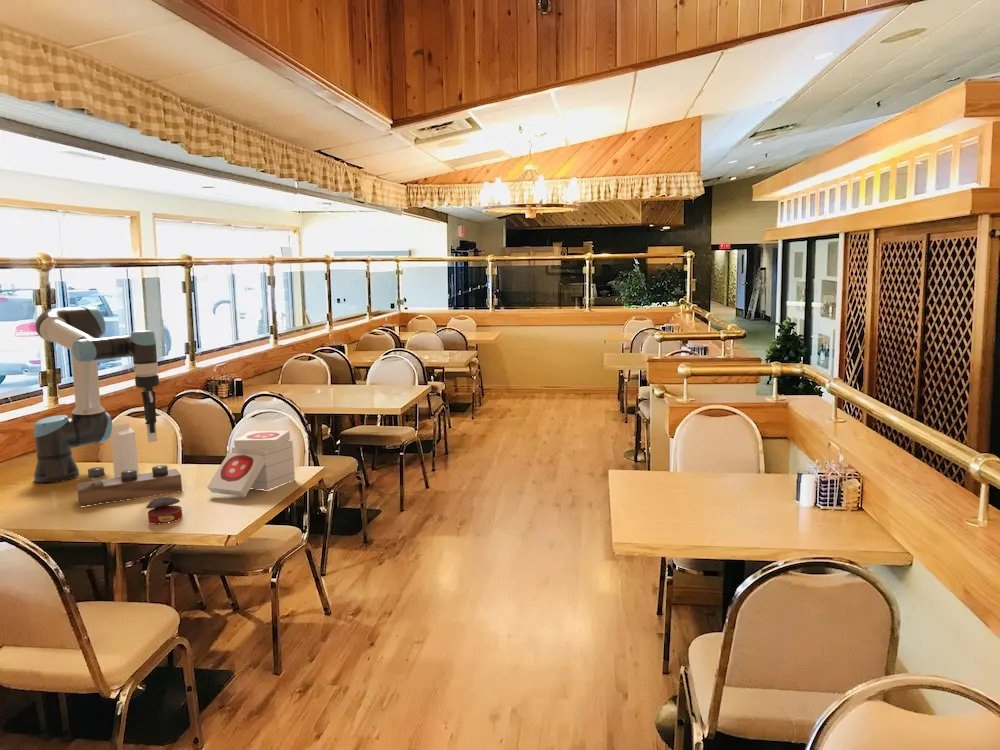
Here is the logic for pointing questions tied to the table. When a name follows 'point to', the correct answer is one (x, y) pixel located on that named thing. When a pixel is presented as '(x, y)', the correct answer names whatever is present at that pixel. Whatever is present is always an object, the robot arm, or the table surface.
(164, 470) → the knob right
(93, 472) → the knob left
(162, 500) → the canned food
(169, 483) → the mount
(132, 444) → the milk
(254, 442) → the pizza boxes
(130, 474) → the knob middle
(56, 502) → the table surface
